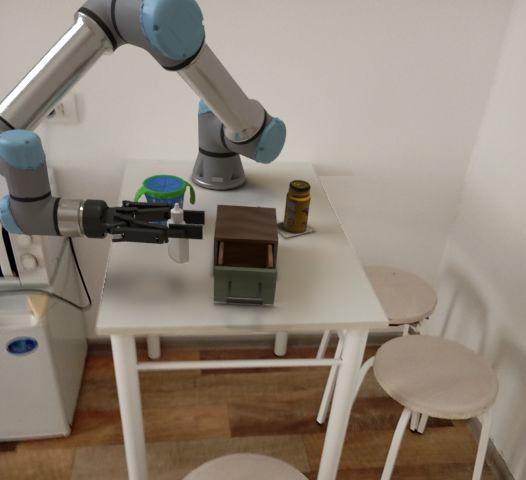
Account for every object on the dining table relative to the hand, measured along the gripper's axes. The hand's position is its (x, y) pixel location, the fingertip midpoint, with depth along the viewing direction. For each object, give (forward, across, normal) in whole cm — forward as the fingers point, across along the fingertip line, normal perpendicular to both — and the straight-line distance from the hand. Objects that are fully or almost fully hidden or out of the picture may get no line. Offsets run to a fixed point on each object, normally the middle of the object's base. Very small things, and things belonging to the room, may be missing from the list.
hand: (203, 225), depth 111 cm
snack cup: (-11, -28, -14) cm, 33 cm away
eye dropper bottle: (-5, 0, -8) cm, 10 cm away
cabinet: (+9, -11, -14) cm, 20 cm away
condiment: (+21, -28, -14) cm, 38 cm away
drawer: (+9, +4, -13) cm, 16 cm away
